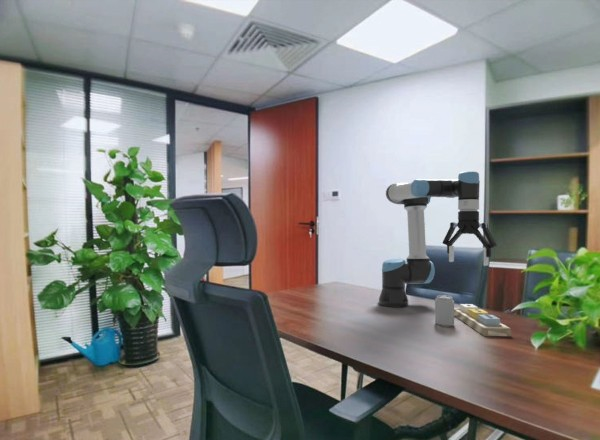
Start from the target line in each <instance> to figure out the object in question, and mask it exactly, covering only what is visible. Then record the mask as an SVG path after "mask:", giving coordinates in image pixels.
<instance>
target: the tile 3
mask: <svg viewBox="0 0 600 440" xmlns="http://www.w3.org/2000/svg"><path fill="white" fill-rule="evenodd" d="M478 322H479V323H481V324H482V325H484V326H500V323H501V318H499V317H497V316H496V315H494V314H488V315H478Z"/></svg>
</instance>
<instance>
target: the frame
mask: <svg viewBox="0 0 600 440" xmlns="http://www.w3.org/2000/svg"><path fill="white" fill-rule="evenodd" d="M454 317H455V318H457V319H459V320H460V321H462V322H463V323H464V324H466V325H467V326H469V327H471V328H472V329H474V330H475V331H476V332H477V333H479V334H480V335H483V336H484V337H512V329H511V327H509V326H507V325H506V324H503V323H502V322H500V326H484V325H482V324H481V323H479V322H478V319H473V318H471V317H469V316H468V314H465V313H463V312H461V311H460V307H454Z"/></svg>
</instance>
